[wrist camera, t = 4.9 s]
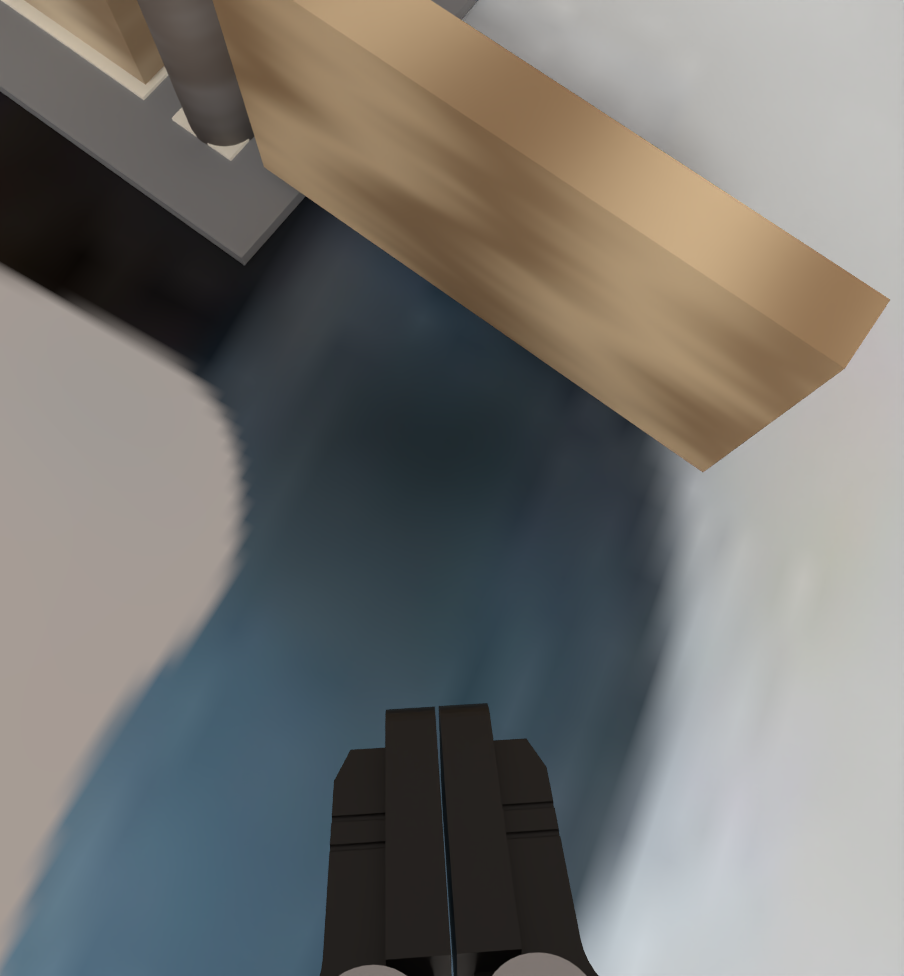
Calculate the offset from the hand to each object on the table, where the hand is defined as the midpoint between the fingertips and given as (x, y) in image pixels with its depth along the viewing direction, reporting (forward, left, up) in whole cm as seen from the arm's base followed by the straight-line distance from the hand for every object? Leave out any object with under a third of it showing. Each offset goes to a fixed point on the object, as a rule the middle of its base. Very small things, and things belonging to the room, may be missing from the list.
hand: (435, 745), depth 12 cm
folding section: (-2, +10, -7) cm, 12 cm away
